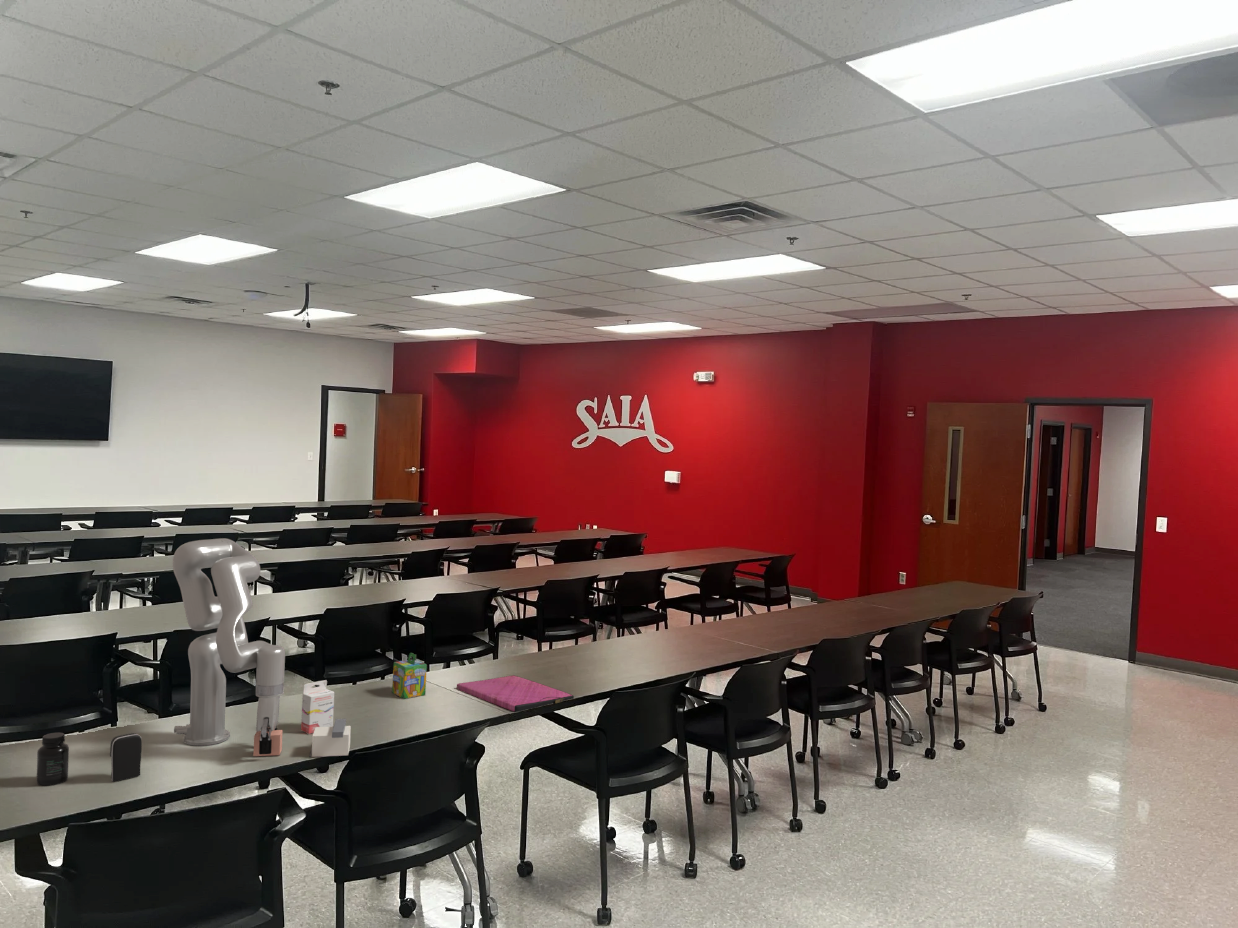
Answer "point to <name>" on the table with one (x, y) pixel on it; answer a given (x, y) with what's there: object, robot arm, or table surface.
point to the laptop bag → (514, 692)
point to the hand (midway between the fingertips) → (268, 747)
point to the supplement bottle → (52, 760)
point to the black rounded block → (125, 756)
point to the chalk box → (409, 678)
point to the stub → (276, 743)
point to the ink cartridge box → (317, 707)
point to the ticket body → (331, 740)
